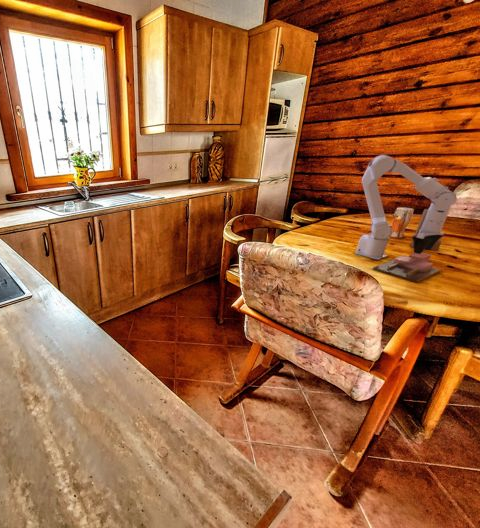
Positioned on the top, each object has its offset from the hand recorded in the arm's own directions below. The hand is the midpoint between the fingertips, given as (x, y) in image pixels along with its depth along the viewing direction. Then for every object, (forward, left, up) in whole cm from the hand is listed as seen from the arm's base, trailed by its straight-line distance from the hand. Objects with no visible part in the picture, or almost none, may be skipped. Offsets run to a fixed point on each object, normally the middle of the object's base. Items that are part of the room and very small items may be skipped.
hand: (421, 251), depth 118 cm
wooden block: (-6, +21, -5) cm, 22 cm away
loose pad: (0, 0, -5) cm, 5 cm away
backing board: (+2, -15, -5) cm, 16 cm away
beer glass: (-21, +30, -5) cm, 37 cm away
